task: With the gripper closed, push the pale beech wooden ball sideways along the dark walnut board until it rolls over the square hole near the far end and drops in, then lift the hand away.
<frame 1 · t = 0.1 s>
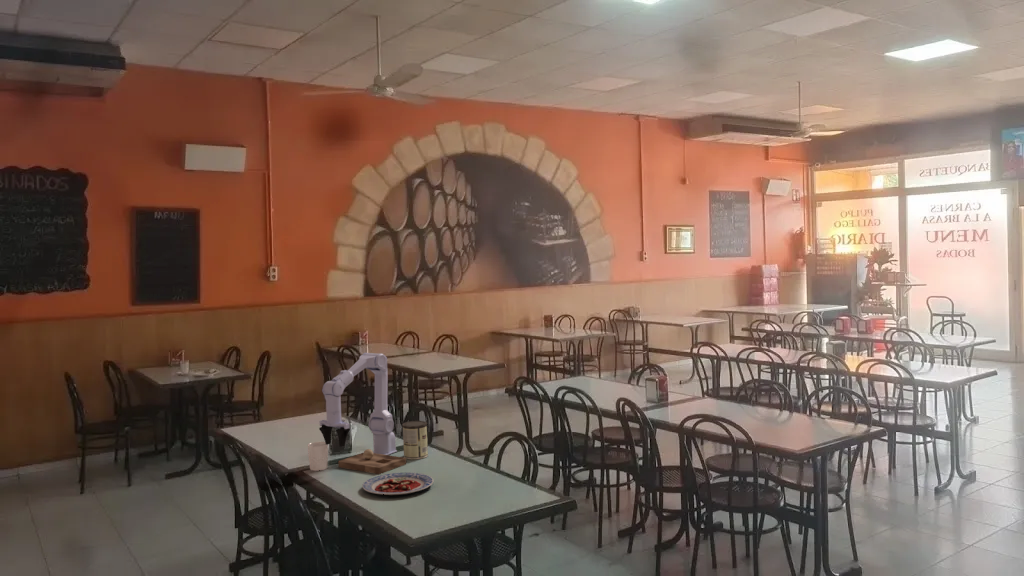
hand: (335, 445, 302), 10 cm above the table, tool pointing down, fingers open, 7 cm apart
ceramic plate: (398, 489, 277), on the table
coffee can: (415, 456, 320), on the table
board: (372, 465, 308), on the table
ball: (368, 454, 308), point 4 cm above the table, touching board
white cup: (318, 469, 306), on the table
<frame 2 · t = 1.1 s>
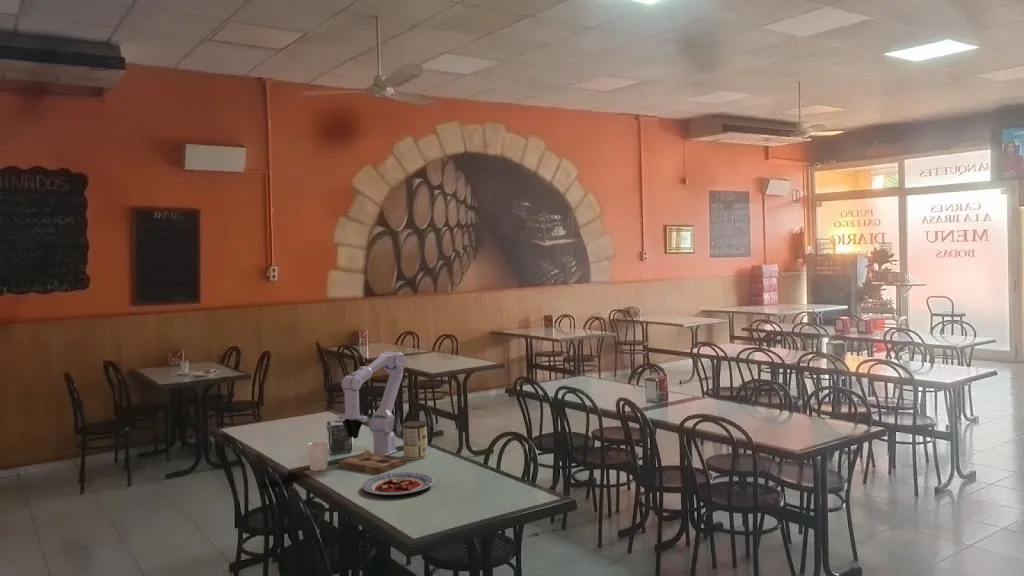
hand: (353, 437, 312), 10 cm above the table, tool pointing down, fingers closed
nothing on the table moved.
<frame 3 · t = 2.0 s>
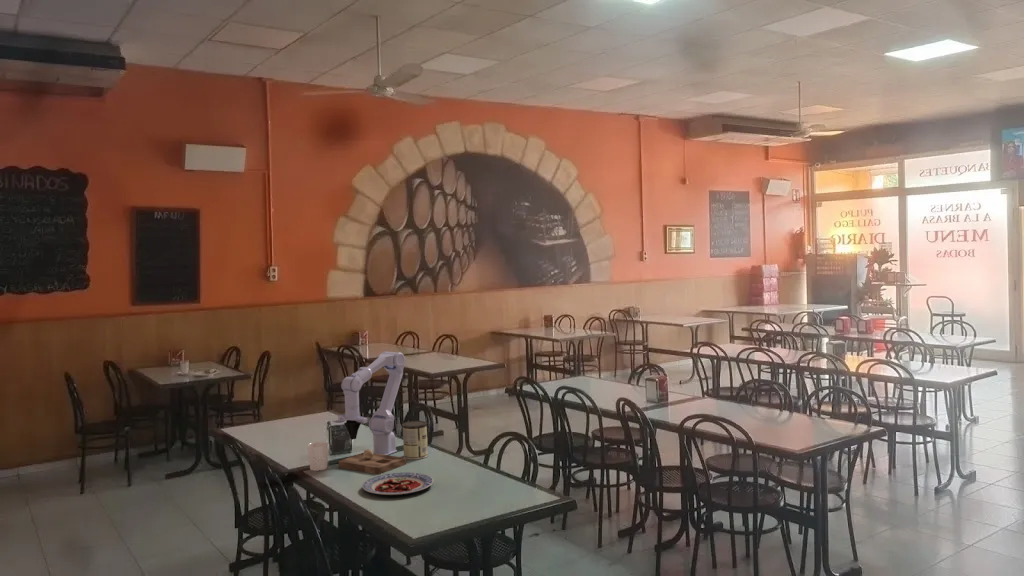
hand: (353, 438, 312), 10 cm above the table, tool pointing down, fingers closed
nothing on the table moved.
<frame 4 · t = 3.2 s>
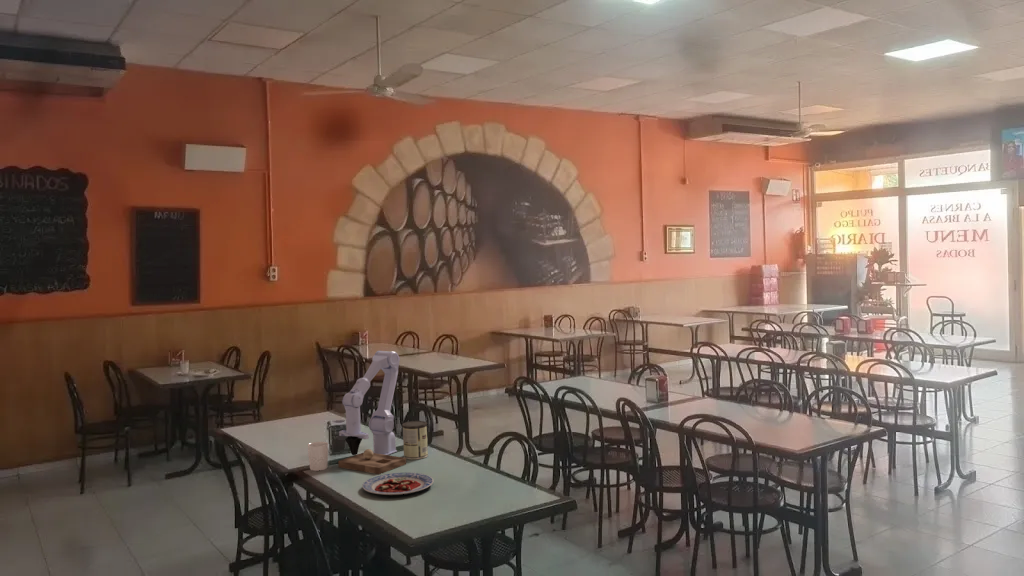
hand: (354, 454, 313), 3 cm above the table, tool pointing down, fingers closed
nothing on the table moved.
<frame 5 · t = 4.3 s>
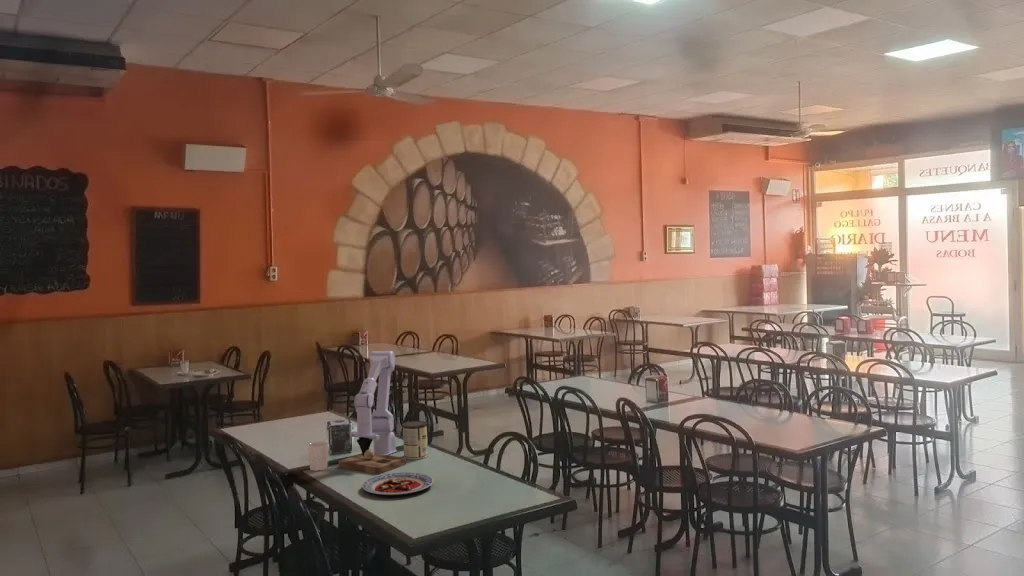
hand: (365, 455, 309), 4 cm above the table, tool pointing down, fingers closed, pressing on ball
ball: (369, 454, 308), point 4 cm above the table, tilted 15°, touching board, gripper
everything else where it was.
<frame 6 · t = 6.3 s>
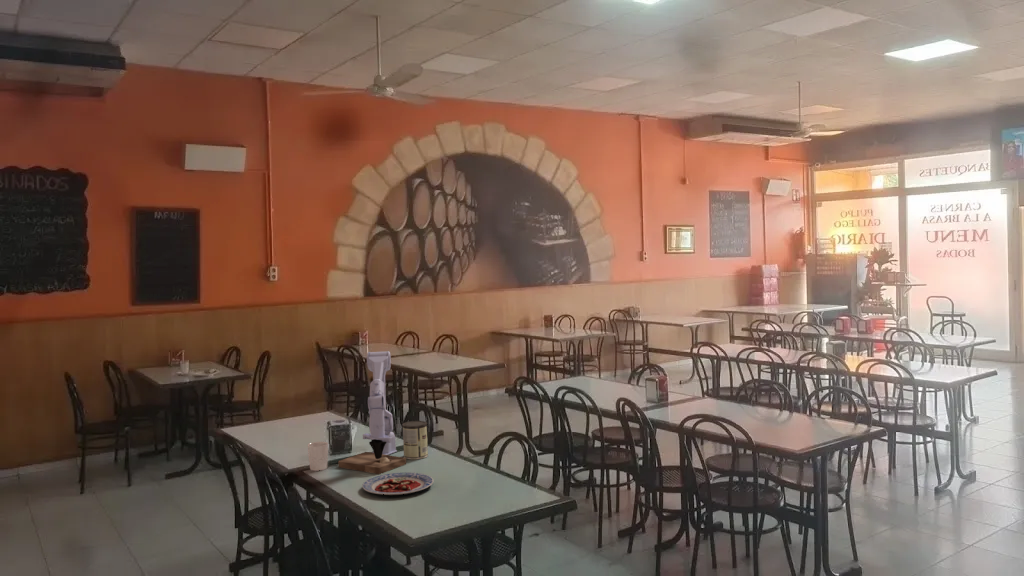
hand: (378, 458, 306), 3 cm above the table, tool pointing down, fingers closed
ball: (384, 462, 304), point 2 cm above the table, tilted 64°
everything else where it was.
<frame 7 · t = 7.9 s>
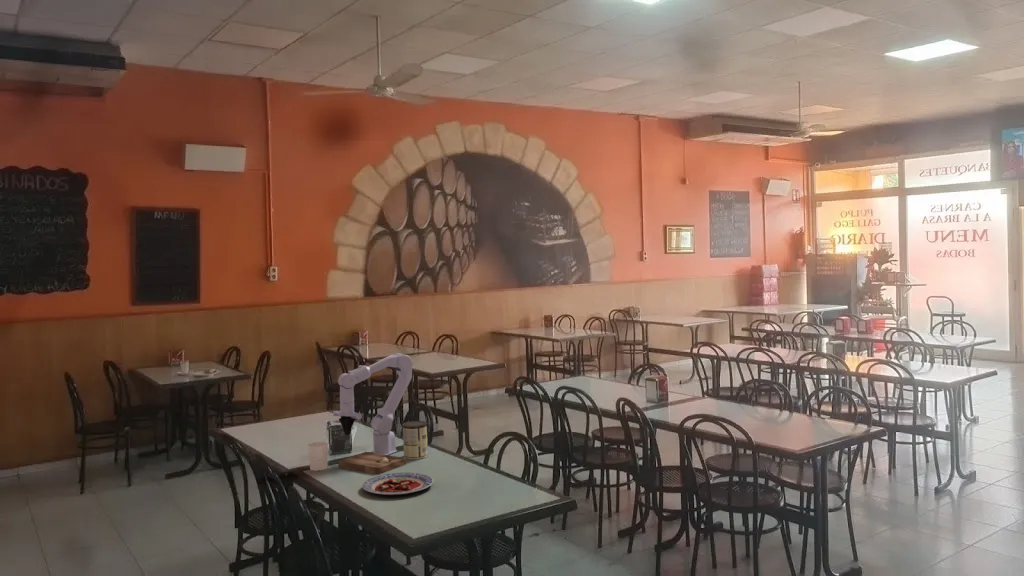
hand: (347, 434, 318), 10 cm above the table, tool pointing down, fingers closed
ball: (383, 462, 305), point 2 cm above the table, tilted 79°
everything else where it was.
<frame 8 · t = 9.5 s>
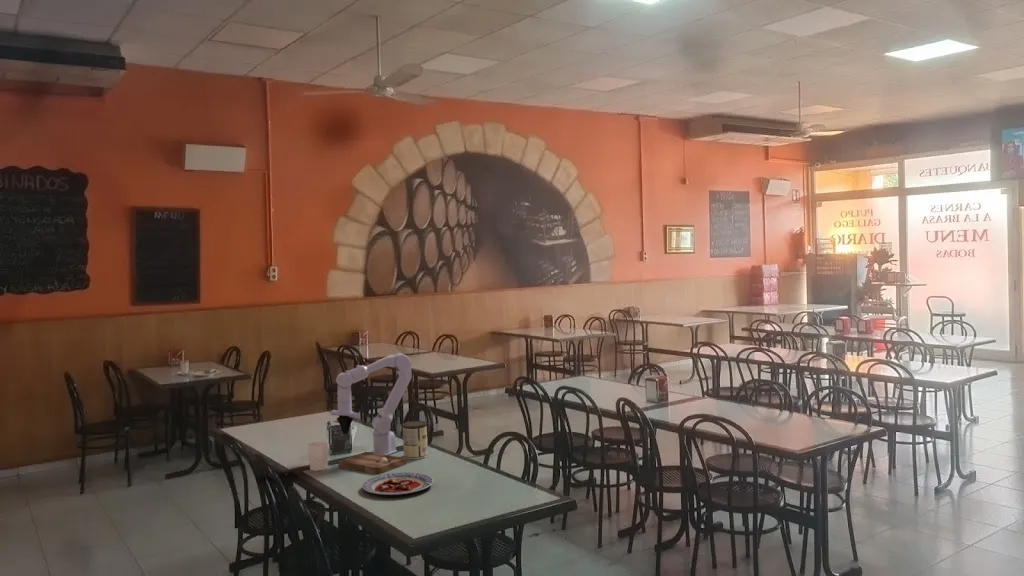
hand: (345, 433, 320), 10 cm above the table, tool pointing down, fingers closed
ball: (383, 462, 305), point 2 cm above the table, tilted 89°
everything else where it was.
at the end: ball 0.6 cm from the target spot on the board, point 2.0 cm above the board's base; ball touching table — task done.
